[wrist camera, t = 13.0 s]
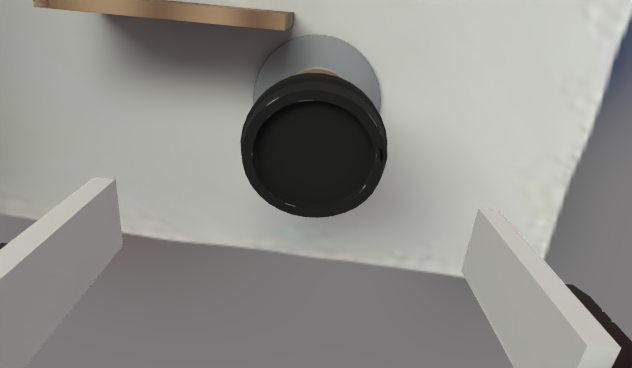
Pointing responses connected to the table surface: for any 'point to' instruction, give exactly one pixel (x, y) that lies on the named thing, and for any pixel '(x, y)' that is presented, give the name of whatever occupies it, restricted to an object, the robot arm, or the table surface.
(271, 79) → the coaster
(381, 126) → the coffee cup
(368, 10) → the table surface
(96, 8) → the wooden c-shaped bracket
